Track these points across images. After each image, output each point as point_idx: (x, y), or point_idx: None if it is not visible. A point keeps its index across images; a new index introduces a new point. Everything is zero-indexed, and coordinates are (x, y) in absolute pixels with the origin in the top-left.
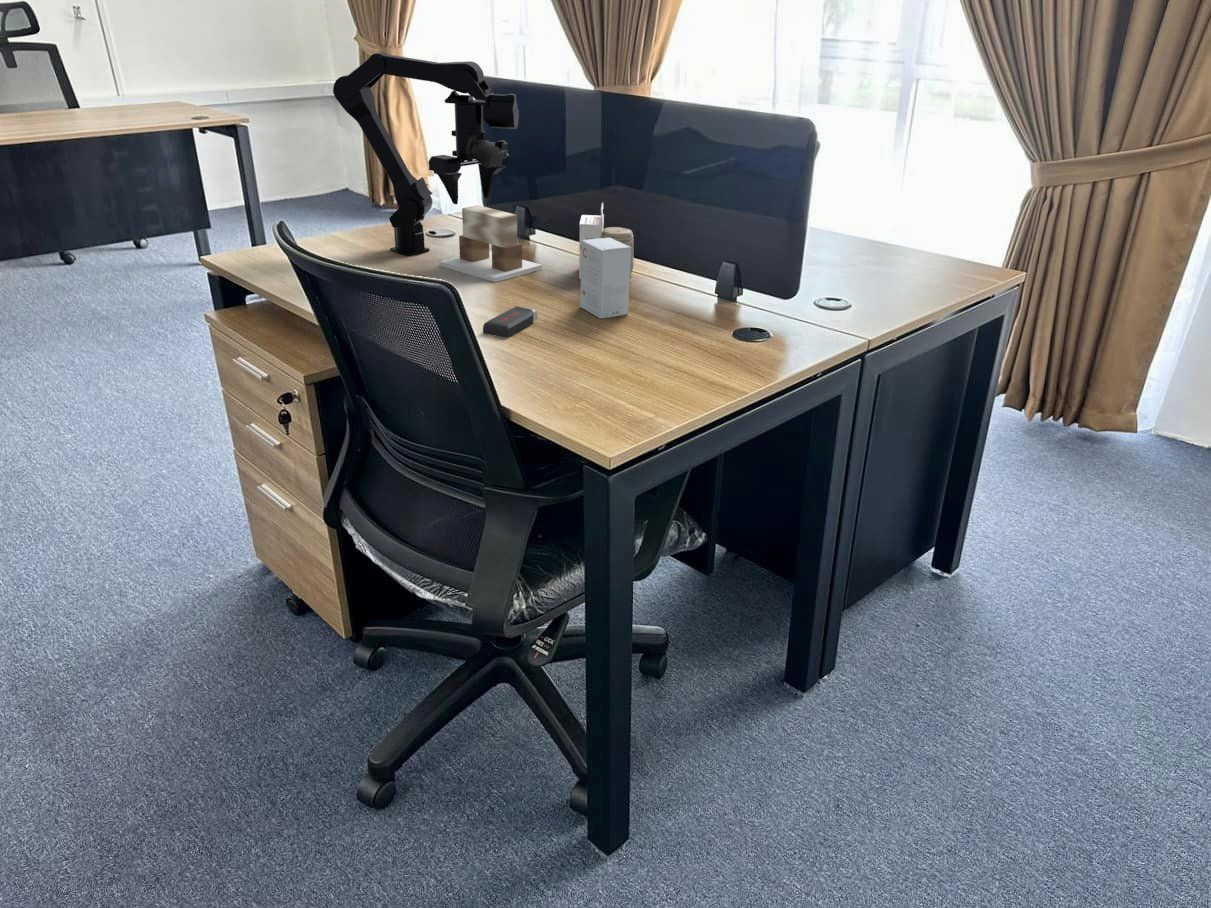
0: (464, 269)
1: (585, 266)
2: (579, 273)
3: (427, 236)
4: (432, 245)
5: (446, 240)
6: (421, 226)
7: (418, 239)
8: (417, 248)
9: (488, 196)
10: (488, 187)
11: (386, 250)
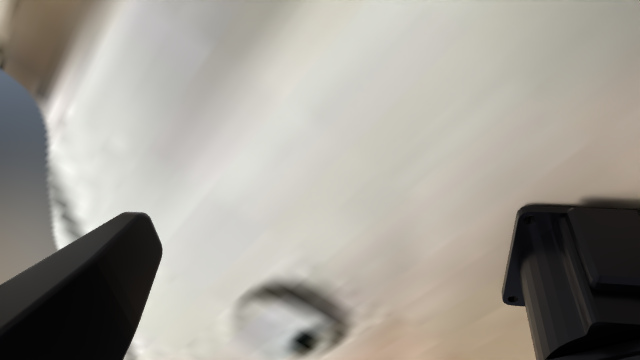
0: None
1: None
2: None
3: (349, 330)
4: (427, 255)
5: (328, 266)
6: (608, 315)
7: (635, 254)
8: (631, 219)
9: (119, 222)
10: (43, 312)
11: None
